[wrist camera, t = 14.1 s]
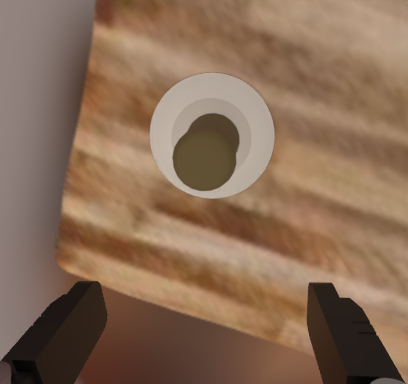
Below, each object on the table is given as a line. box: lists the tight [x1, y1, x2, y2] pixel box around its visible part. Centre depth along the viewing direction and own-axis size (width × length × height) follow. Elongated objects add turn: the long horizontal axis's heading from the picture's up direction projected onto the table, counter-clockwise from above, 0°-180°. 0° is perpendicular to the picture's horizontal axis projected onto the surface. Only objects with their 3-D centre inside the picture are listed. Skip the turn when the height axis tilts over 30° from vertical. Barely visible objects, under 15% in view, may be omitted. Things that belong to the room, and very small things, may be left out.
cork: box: [172, 113, 240, 191], centre depth 27 cm, size 6×6×11 cm
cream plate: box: [150, 73, 275, 198], centre depth 32 cm, size 14×14×1 cm
